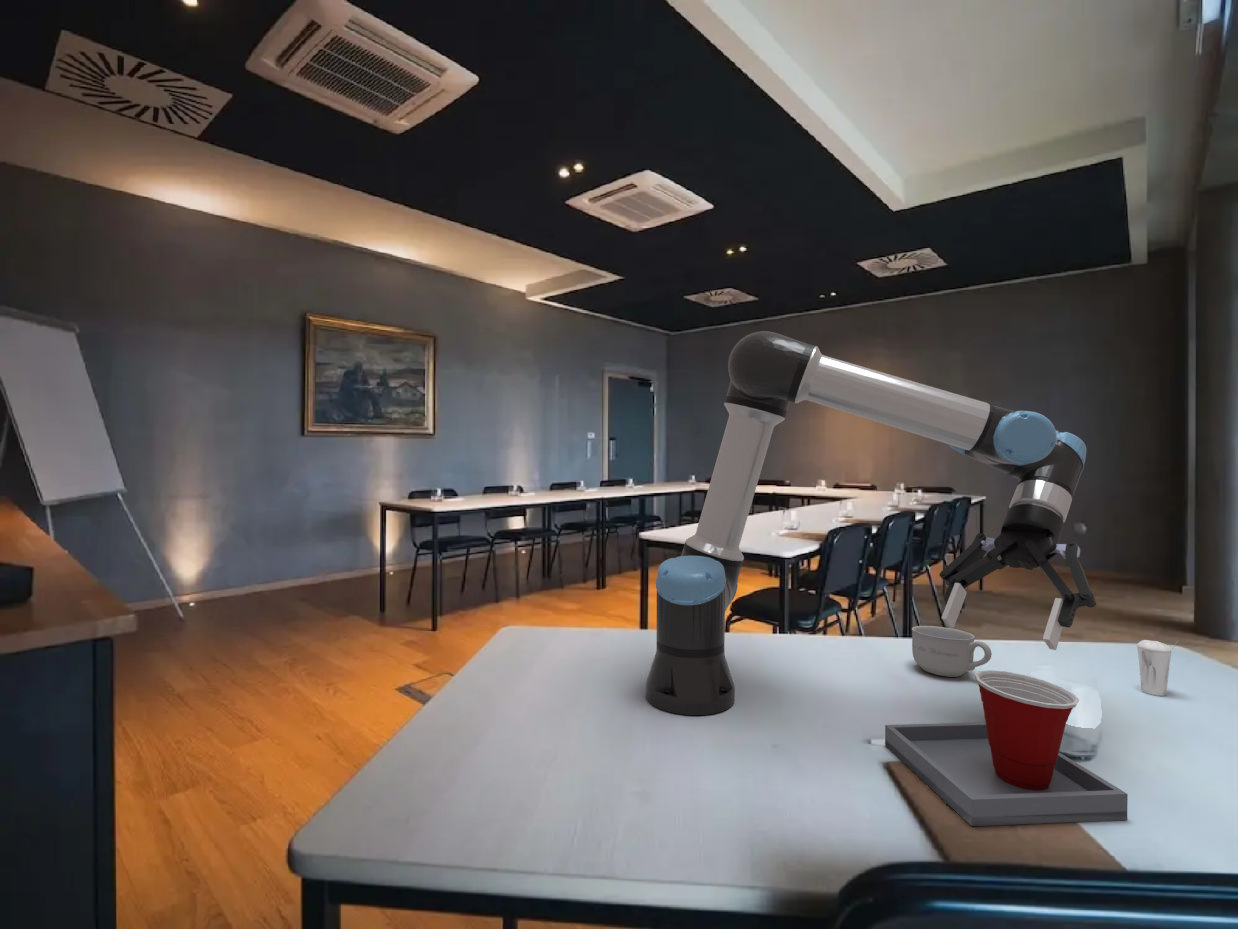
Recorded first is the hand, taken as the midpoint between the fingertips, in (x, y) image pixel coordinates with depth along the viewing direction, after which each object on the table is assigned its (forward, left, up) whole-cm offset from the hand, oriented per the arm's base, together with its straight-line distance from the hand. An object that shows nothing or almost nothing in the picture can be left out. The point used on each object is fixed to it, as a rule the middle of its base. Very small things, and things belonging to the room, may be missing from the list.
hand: (994, 633), depth 85 cm
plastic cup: (-4, -11, -15) cm, 19 cm away
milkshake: (+42, +16, -16) cm, 48 cm away
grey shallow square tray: (-7, -9, -16) cm, 20 cm away
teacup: (+11, +27, -16) cm, 33 cm away
